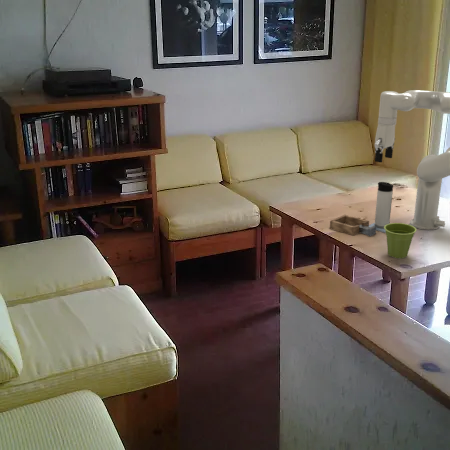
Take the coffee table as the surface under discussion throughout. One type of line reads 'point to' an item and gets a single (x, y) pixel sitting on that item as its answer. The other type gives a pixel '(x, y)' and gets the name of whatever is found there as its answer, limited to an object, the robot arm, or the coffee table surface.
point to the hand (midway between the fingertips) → (383, 159)
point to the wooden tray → (342, 227)
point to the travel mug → (383, 204)
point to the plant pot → (399, 239)
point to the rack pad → (378, 228)
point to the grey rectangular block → (367, 230)
